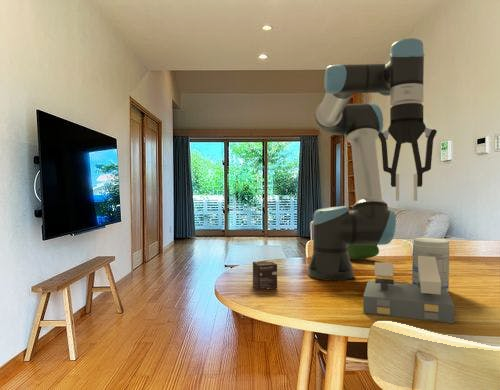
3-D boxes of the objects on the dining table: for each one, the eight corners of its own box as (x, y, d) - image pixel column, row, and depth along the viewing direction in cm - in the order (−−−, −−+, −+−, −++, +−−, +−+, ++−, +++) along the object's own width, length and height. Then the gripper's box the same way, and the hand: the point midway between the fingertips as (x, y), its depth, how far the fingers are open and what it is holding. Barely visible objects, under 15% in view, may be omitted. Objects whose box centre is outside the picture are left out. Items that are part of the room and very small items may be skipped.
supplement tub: (406, 286, 111) (406, 237, 111) (435, 285, 112) (435, 237, 111) (424, 295, 101) (424, 242, 101) (456, 294, 102) (457, 241, 102)
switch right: (421, 292, 84) (421, 280, 83) (417, 266, 96) (417, 255, 96) (440, 294, 82) (441, 282, 81) (434, 267, 95) (435, 256, 94)
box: (257, 290, 107) (257, 265, 107) (252, 285, 112) (252, 261, 112) (277, 289, 108) (277, 264, 108) (271, 284, 114) (271, 260, 114)
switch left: (374, 274, 87) (374, 262, 87) (377, 276, 99) (377, 265, 100) (392, 276, 85) (392, 263, 86) (393, 277, 98) (393, 266, 99)
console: (363, 313, 87) (363, 285, 87) (368, 294, 102) (368, 271, 102) (454, 323, 80) (454, 293, 80) (444, 302, 95) (445, 276, 95)
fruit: (383, 260, 152) (383, 236, 151) (372, 264, 144) (372, 238, 144) (349, 255, 162) (349, 233, 162) (338, 259, 154) (338, 235, 154)
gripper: (370, 104, 90) (370, 200, 90) (446, 98, 84) (445, 201, 84) (372, 110, 97) (372, 199, 97) (442, 105, 91) (441, 200, 91)
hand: (406, 200), depth 90 cm, fingers open, 3 cm apart
